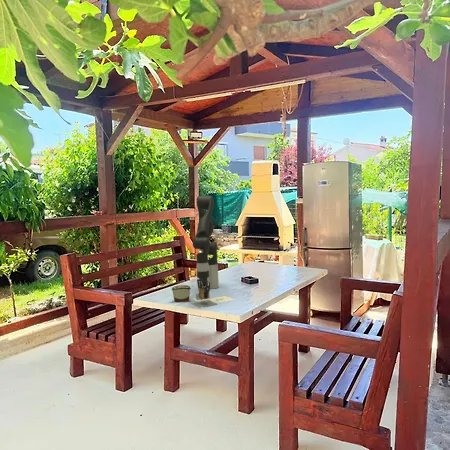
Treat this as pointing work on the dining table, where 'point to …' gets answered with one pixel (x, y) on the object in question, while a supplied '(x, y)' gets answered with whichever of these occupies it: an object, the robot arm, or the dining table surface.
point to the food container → (181, 293)
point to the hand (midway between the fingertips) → (204, 297)
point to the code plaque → (220, 299)
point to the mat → (204, 303)
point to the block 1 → (197, 296)
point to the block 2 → (202, 293)
